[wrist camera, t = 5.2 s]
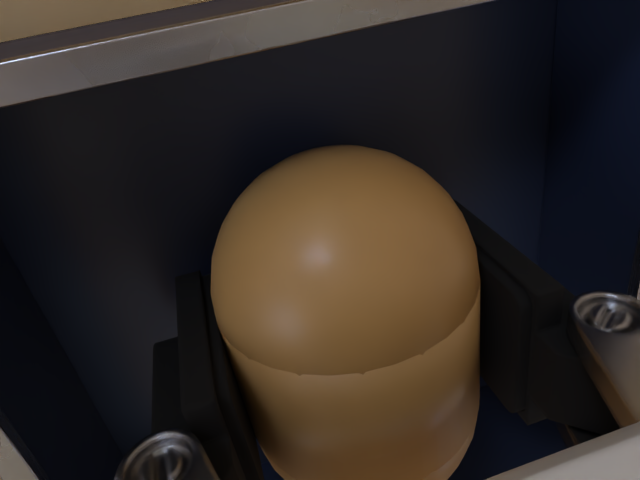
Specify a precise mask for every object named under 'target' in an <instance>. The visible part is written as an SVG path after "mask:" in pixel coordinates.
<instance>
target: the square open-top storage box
mask: <svg viewBox="0 0 640 480" xmlns="http://www.w3.org/2000/svg"><path fill="white" fill-rule="evenodd" d="M330 145H358V146H364V147H368V148H373V149H378V150H383V151H387V152H389V153H392V154H395V155H397V156H399V157H401V158H403V159H405V160H407V161H409V162H410V163H412V164H414V165H416V166H418V167H419V168H421V169H423V170H424V171H425V172H426V173H427V174H429V175H430V176H431V177H432V178H433V179H434V180H435V181H436V182H438V183H439V184H440V185H441V186H442V187H443V188H444V189H445V190H446V191H447V192H448V194H449V195H450V196H451V198H452V199H454V200H456V201H457V202H459V203H460V204H461V205H462V206H464V207H465V208H466V209H467V210H469V211H470V212H471V213H472V214H474V215H475V216H476V217H477V218H479V219H480V220H481V221H482V222H484V223H485V224H486V225H487V226H489V227H490V228H491V229H492V230H494V231H495V232H496V233H498V234H499V235H500V236H501V237H503V238H504V239H505V240H506V241H508V242H509V243H510V244H511V245H513V246H514V247H515V248H516V249H518V250H519V251H520V252H521V253H523V254H524V255H525V256H526V257H528V258H529V259H530V260H531V261H533V262H534V263H535V264H536V265H538V266H539V267H540V268H541V269H543V270H544V271H545V272H546V273H548V274H549V275H550V276H551V277H553V278H554V279H555V280H557V281H558V282H559V283H560V284H562V285H563V286H564V287H565V288H566V289H567V290H568V291H570V292H571V293H572V294H573V295H575V296H578V295H579V294H581V293H583V292H588V291H593V290H610V291H616V292H621V293H624V294H627V295H630V296H633V297H635V298H637V299H638V300H640V0H212V1H207V2H202V3H197V4H192V5H187V6H182V7H177V8H172V9H167V10H162V11H157V12H152V13H147V14H142V15H137V16H132V17H127V18H122V19H117V20H112V21H107V22H102V23H96V24H91V25H86V26H81V27H76V28H71V29H66V30H61V31H56V32H51V33H46V34H41V35H36V36H31V37H26V38H21V39H16V40H11V41H6V42H1V43H0V477H1V479H2V480H114V478H115V475H116V471H117V468H118V465H119V464H120V462H121V461H122V459H123V457H124V456H125V454H126V453H127V452H128V451H129V450H130V449H131V448H132V447H133V446H134V445H135V444H136V443H137V442H139V441H140V440H142V439H143V438H145V437H146V436H148V435H150V434H151V422H152V374H153V346H154V344H155V343H157V342H160V341H164V340H167V339H170V338H174V337H177V336H178V331H177V309H176V287H175V277H177V276H181V275H184V274H188V273H192V272H195V271H199V270H200V272H201V274H202V276H204V275H208V274H211V263H212V254H213V250H214V247H215V243H216V240H217V236H218V233H219V231H220V228H221V225H222V223H223V221H224V219H225V218H226V216H227V214H228V212H229V210H230V209H231V207H232V205H233V203H234V202H235V201H236V199H237V198H238V197H239V195H240V194H241V193H242V192H243V191H244V190H245V189H246V188H247V187H248V186H249V185H250V184H251V183H252V182H253V181H254V179H256V178H257V177H258V176H259V175H260V174H261V173H263V172H264V171H266V170H267V169H269V168H270V167H272V166H274V165H275V164H277V163H279V162H280V161H282V160H284V159H286V158H288V157H290V156H292V155H294V154H297V153H299V152H302V151H306V150H309V149H313V148H318V147H323V146H330ZM256 441H257V438H256ZM257 446H258V451H259V456H260V461H261V466H262V471H263V476H264V480H284V479H283V478H282V477H281V476H280V475H279V474H278V473H277V472H276V471H275V470H274V468H273V467H272V465H271V464H270V462H269V461H268V459H267V457H266V456H265V454H264V452H263V450H262V449H261V447H260V445H259V443H258V441H257ZM564 449H567V448H566V446H565V444H564V442H563V440H562V437H561V435H560V433H559V431H558V428H557V425H556V422H555V421H552V420H549V419H548V418H547V419H544V420H541V421H539V422H536V423H533V424H530V425H528V426H527V424H526V423H525V422H524V421H523V419H522V418H521V417H520V416H519V414H518V413H517V412H515V413H510V412H509V411H508V410H507V409H506V408H505V407H504V405H503V404H502V403H501V401H500V400H499V399H498V398H497V396H496V395H495V394H494V392H493V391H492V390H491V389H490V387H489V386H488V385H487V383H486V382H485V381H484V380H483V378H482V377H481V376H480V398H479V410H478V415H477V421H476V426H475V430H474V435H473V439H472V441H471V443H470V445H469V447H468V449H467V451H466V453H465V455H464V457H463V459H462V460H461V462H460V464H459V466H458V467H457V469H456V470H455V471H454V472H453V473H452V475H451V476H450V477H449V478H448V480H485V479H487V478H490V477H493V476H495V475H498V474H501V473H503V472H506V471H509V470H511V469H514V468H517V467H519V466H522V465H525V464H527V463H530V462H533V461H535V460H538V459H541V458H543V457H546V456H549V455H551V454H554V453H556V452H559V451H562V450H564Z"/></svg>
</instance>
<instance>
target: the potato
mask: <svg viewBox="0 0 640 480" xmlns="http://www.w3.org/2000/svg"><path fill="white" fill-rule="evenodd" d="M211 298H212V303H213V308H214V313H215V317H216V321H217V324H218V327H219V330H220V333H221V336H222V339H223V342H224V345H225V348H226V351H227V354H228V357H229V359H230V362H231V365H232V368H233V371H234V374H235V377H236V380H237V383H238V386H239V389H240V392H241V395H242V398H243V401H244V404H245V407H246V410H247V412H248V415H249V418H250V421H251V424H252V427H253V430H254V433H255V436H256V438H257V441H258V443H259V445H260V447H261V449H262V450H263V452H264V454H265V456H266V457H267V459H268V461H269V462H270V464H271V465H272V467H273V468H274V470H275V471H276V472H277V473H278V474H279V475H280V476H281V477H282V478H283V479H284V480H448V478H449V477H450V476H451V475H452V473H453V472H454V471H455V470H456V469H457V467H458V466H459V464H460V462H461V460H462V459H463V457H464V455H465V453H466V451H467V449H468V447H469V445H470V443H471V441H472V439H473V435H474V430H475V426H476V421H477V415H478V410H479V398H480V274H479V266H478V258H477V250H476V246H475V243H474V240H473V238H472V235H471V232H470V230H469V227H468V225H467V223H466V220H465V218H464V216H463V214H462V212H461V211H460V209H459V208H458V206H457V205H456V203H455V202H454V201H453V199H452V198H451V196H450V195H449V194H448V192H447V191H446V190H445V189H444V188H443V187H442V186H441V185H440V184H439V183H438V182H436V181H435V180H434V179H433V178H432V177H431V176H430V175H429V174H427V173H426V172H425V171H424V170H423V169H421V168H419V167H418V166H416V165H414V164H412V163H410V162H409V161H407V160H405V159H403V158H401V157H399V156H397V155H395V154H392V153H389V152H387V151H383V150H378V149H373V148H368V147H364V146H358V145H330V146H323V147H318V148H313V149H309V150H306V151H302V152H299V153H297V154H294V155H292V156H290V157H288V158H286V159H284V160H282V161H280V162H279V163H277V164H275V165H274V166H272V167H270V168H269V169H267V170H266V171H264V172H263V173H261V174H260V175H259V176H258V177H257V178H256V179H254V181H253V182H252V183H251V184H250V185H249V186H248V187H247V188H246V189H245V190H244V191H243V192H242V193H241V194H240V195H239V197H238V198H237V199H236V201H235V202H234V203H233V205H232V207H231V209H230V210H229V212H228V214H227V216H226V218H225V219H224V221H223V223H222V225H221V228H220V231H219V233H218V236H217V240H216V243H215V247H214V250H213V254H212V263H211Z"/></svg>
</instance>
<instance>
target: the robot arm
mask: <svg viewBox="0 0 640 480" xmlns="http://www.w3.org/2000/svg"><path fill="white" fill-rule="evenodd" d="M453 201H454V202H455V203H456V205H457V206H458V208H459V209H460V211H461V212H462V214H463V216H464V218H465V220H466V223H467V225H468V227H469V230H470V232H471V235H472V238H473V240H474V243H475V246H476V250H477V258H478V266H479V274H480V376H481V377H482V378H483V380H484V381H485V382H486V383H487V385H488V386H489V387H490V389H491V390H492V391H493V392H494V394H495V395H496V396H497V398H498V399H499V400H500V401H501V403H502V404H503V405H504V407H505V408H506V409H507V410H508V411H509V412H510V413H515V412H517V413H518V414H519V416H520V417H521V418H522V419H523V421H524V422H525V423H526V424H527V426H528V425H530V424H533V423H536V422H539V421H541V420H544V419H547V418H548V419H549V420H552V421H555V422H556V425H557V428H558V431H559V433H560V435H561V437H562V440H563V442H564V444H565V446H566V448H567V449H564V450H562V451H559V452H556V453H554V454H551V455H549V456H546V457H543V458H541V459H538V460H535V461H533V462H530V463H527V464H525V465H522V466H519V467H517V468H514V469H511V470H509V471H506V472H503V473H501V474H498V475H495V476H493V477H490V478H487V479H485V480H640V300H638V299H637V298H635V297H633V296H630V295H627V294H624V293H621V292H616V291H610V290H593V291H588V292H583V293H581V294H579V295H578V296H575V295H573V294H572V293H571V292H570V291H568V290H567V289H566V288H565V287H564V286H563V285H562V284H560V283H559V282H558V281H557V280H555V279H554V278H553V277H551V276H550V275H549V274H548V273H546V272H545V271H544V270H543V269H541V268H540V267H539V266H538V265H536V264H535V263H534V262H533V261H531V260H530V259H529V258H528V257H526V256H525V255H524V254H523V253H521V252H520V251H519V250H518V249H516V248H515V247H514V246H513V245H511V244H510V243H509V242H508V241H506V240H505V239H504V238H503V237H501V236H500V235H499V234H498V233H496V232H495V231H494V230H492V229H491V228H490V227H489V226H487V225H486V224H485V223H484V222H482V221H481V220H480V219H479V218H477V217H476V216H475V215H474V214H472V213H471V212H470V211H469V210H467V209H466V208H465V207H464V206H462V205H461V204H460V203H459V202H457V201H456V200H454V199H453ZM175 287H176V309H177V331H178V336H177V337H174V338H170V339H167V340H164V341H160V342H157V343H155V344H154V346H153V374H152V422H151V434H150V435H148V436H146V437H145V438H143V439H142V440H140V441H139V442H137V443H136V444H135V445H134V446H133V447H132V448H131V449H130V450H129V451H128V452H127V453H126V454H125V456H124V457H123V459H122V461H121V462H120V464H119V465H118V468H117V471H116V475H115V478H114V480H264V476H263V471H262V466H261V461H260V456H259V451H258V446H257V441H256V436H255V433H254V430H253V427H252V424H251V421H250V418H249V415H248V412H247V410H246V407H245V404H244V401H243V398H242V395H241V392H240V389H239V386H238V383H237V380H236V377H235V374H234V371H233V368H232V365H231V362H230V359H229V357H228V354H227V351H226V348H225V345H224V342H223V339H222V336H221V333H220V330H219V327H218V324H217V321H216V317H215V313H214V308H213V303H212V298H211V274H208V275H204V276H202V274H201V272H200V270H199V271H195V272H192V273H188V274H184V275H181V276H177V277H175Z"/></svg>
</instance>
